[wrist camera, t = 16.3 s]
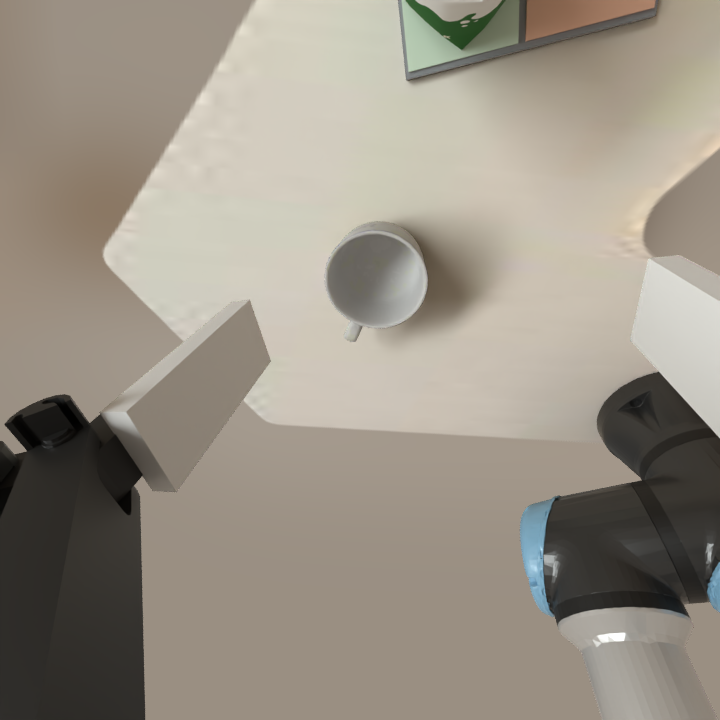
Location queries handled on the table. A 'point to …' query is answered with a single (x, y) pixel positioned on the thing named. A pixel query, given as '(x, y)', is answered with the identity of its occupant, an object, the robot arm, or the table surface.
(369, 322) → the teacup
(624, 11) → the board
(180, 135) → the table surface
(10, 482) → the robot arm
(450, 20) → the soya milk
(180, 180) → the table surface
